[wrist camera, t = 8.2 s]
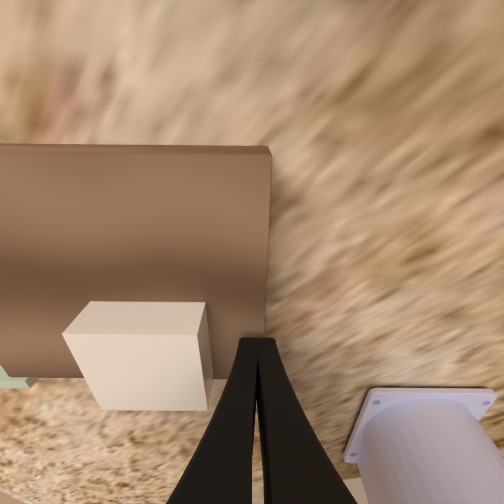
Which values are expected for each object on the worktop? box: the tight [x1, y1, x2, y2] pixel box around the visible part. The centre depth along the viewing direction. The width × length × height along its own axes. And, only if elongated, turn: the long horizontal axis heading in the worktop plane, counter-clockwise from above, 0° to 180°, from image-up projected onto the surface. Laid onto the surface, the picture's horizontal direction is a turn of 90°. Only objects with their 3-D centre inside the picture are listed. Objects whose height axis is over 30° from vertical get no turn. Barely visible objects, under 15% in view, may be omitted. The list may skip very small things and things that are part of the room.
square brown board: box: [0, 144, 272, 379], centre depth 10 cm, size 10×12×2 cm
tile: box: [62, 301, 213, 411], centre depth 10 cm, size 4×4×2 cm
